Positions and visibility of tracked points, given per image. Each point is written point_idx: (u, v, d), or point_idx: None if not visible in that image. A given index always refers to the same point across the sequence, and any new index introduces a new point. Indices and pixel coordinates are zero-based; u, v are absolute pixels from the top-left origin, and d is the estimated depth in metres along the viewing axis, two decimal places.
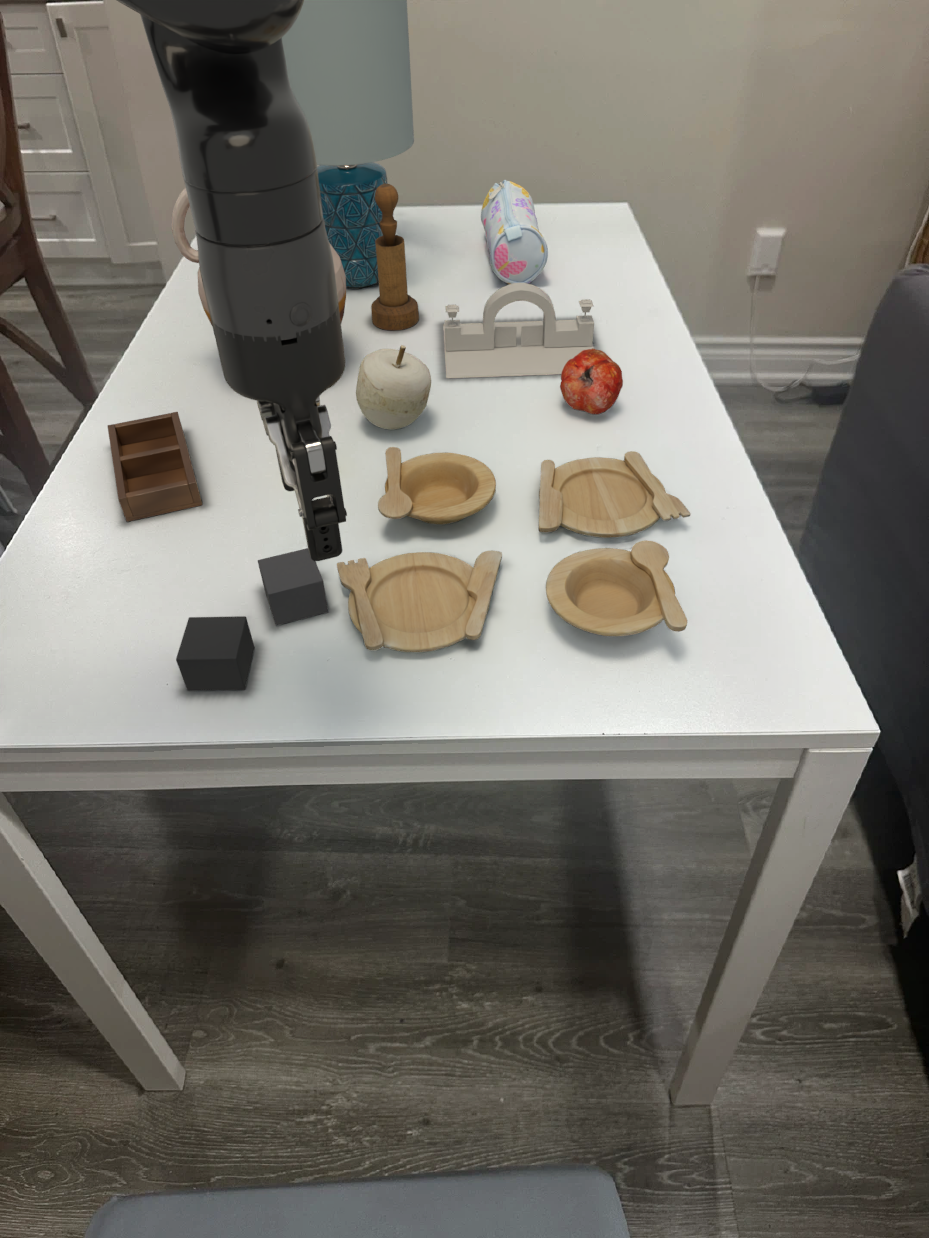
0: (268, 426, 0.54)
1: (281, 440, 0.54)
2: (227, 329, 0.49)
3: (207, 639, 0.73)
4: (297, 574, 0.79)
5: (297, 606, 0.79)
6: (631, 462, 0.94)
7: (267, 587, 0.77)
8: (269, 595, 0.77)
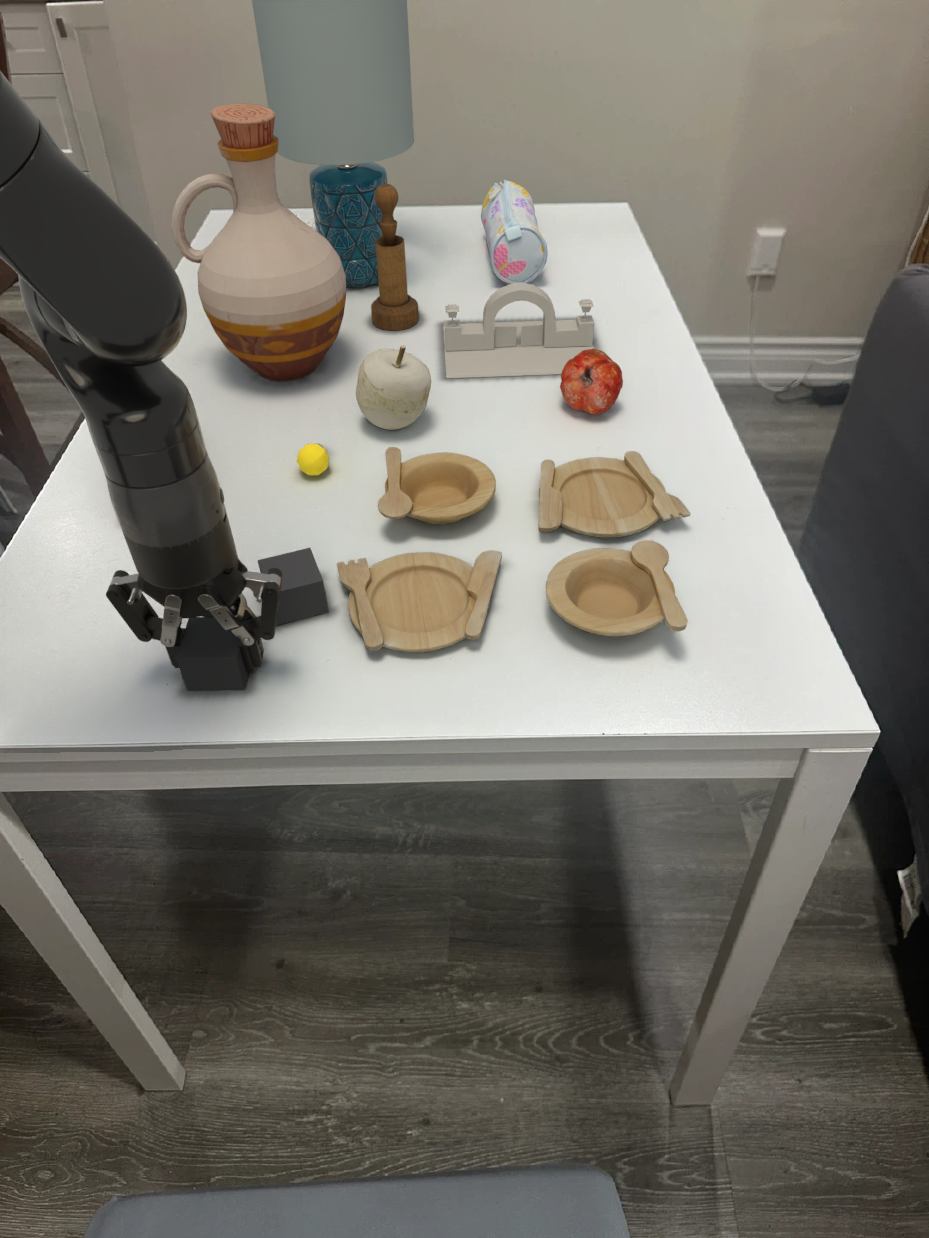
0: (213, 598, 0.67)
1: (222, 602, 0.68)
2: (191, 539, 0.62)
3: (207, 639, 0.73)
4: (297, 574, 0.79)
5: (297, 606, 0.79)
6: (631, 462, 0.94)
7: None
8: None
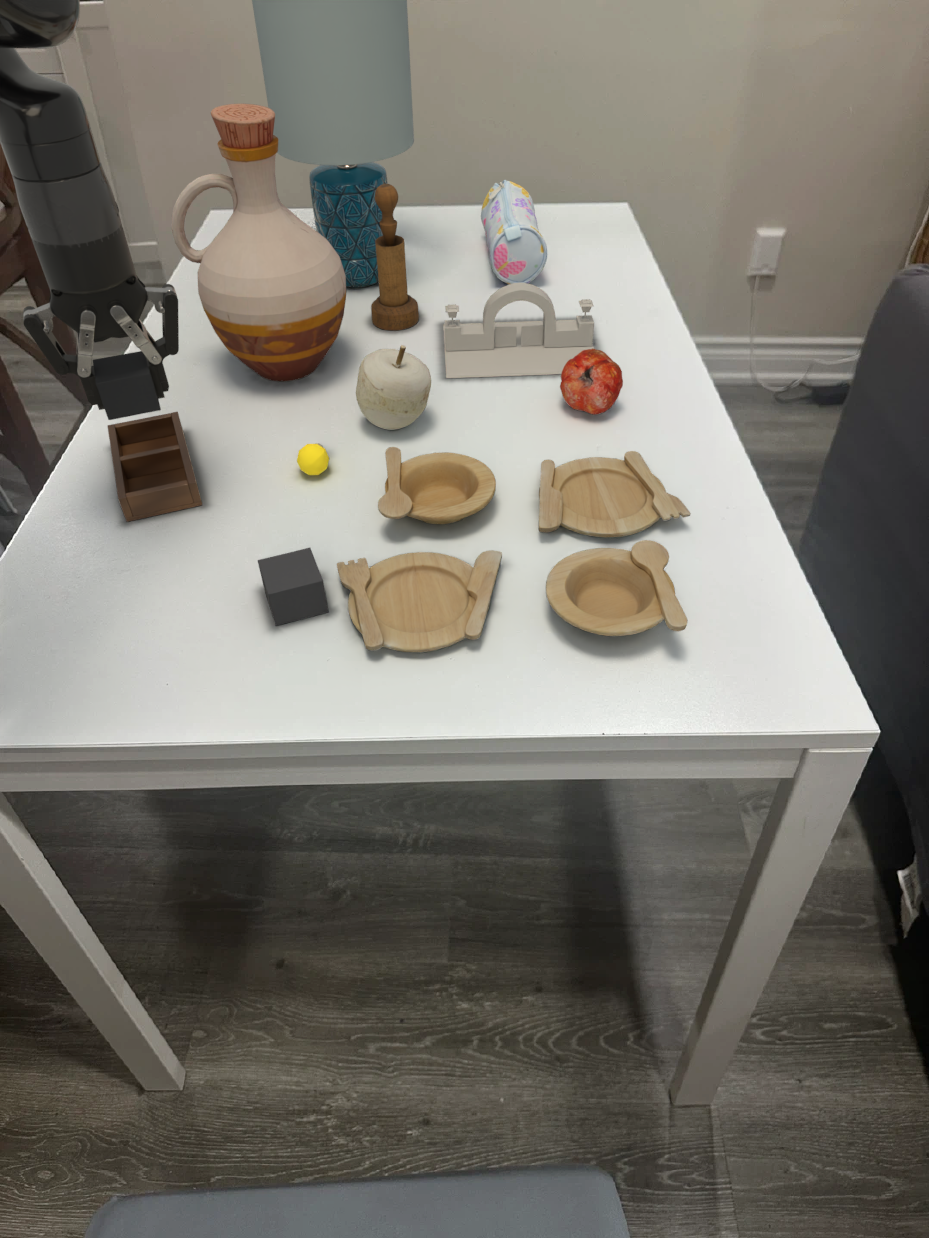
0: (123, 309, 0.79)
1: (130, 315, 0.80)
2: (103, 235, 0.73)
3: (117, 368, 0.83)
4: (297, 574, 0.79)
5: (297, 606, 0.79)
6: (631, 462, 0.94)
7: (267, 587, 0.77)
8: (269, 595, 0.77)
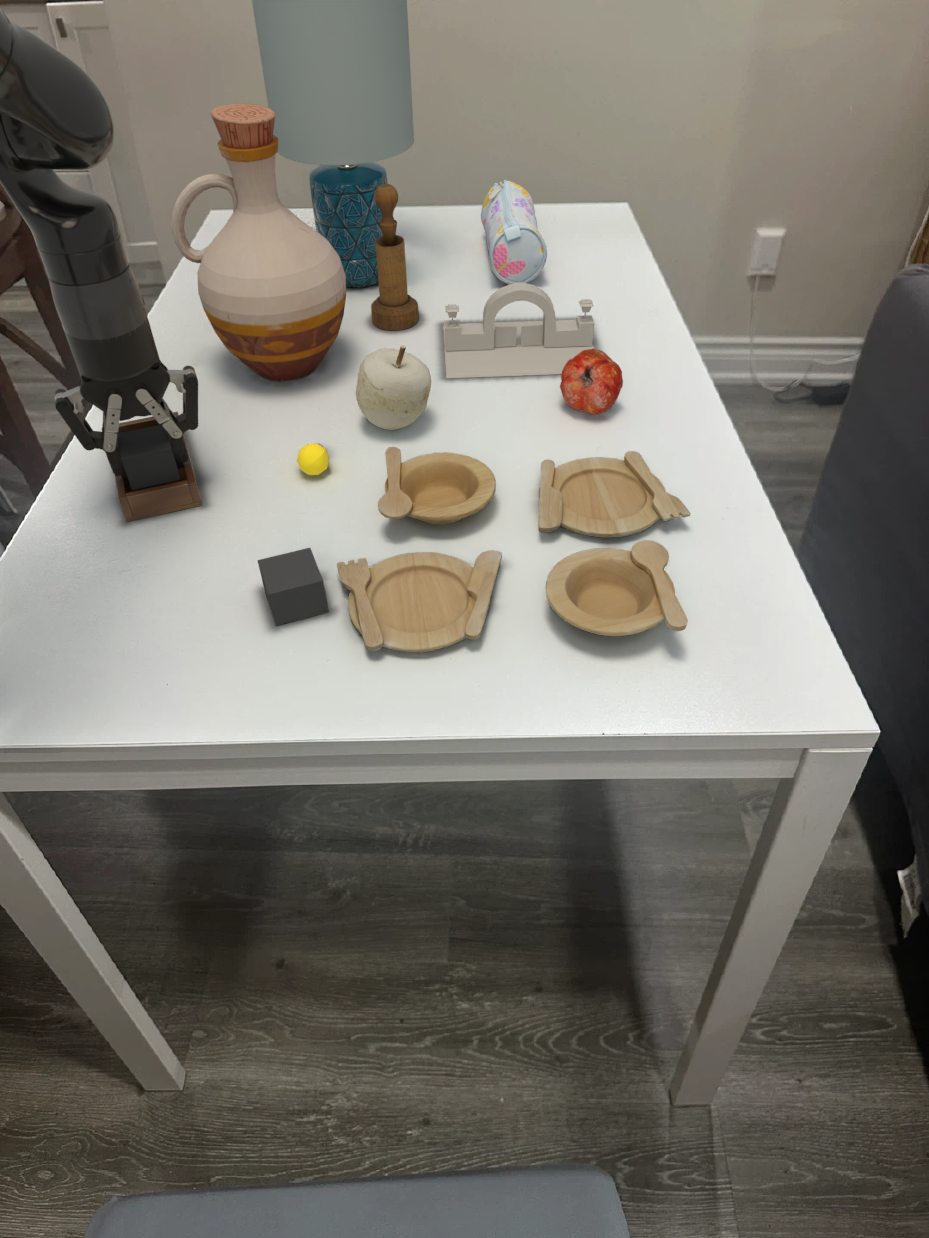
0: (147, 392, 0.85)
1: (153, 397, 0.86)
2: (130, 330, 0.79)
3: (141, 442, 0.90)
4: (297, 574, 0.79)
5: (297, 606, 0.79)
6: (631, 462, 0.94)
7: (267, 587, 0.77)
8: (269, 595, 0.77)
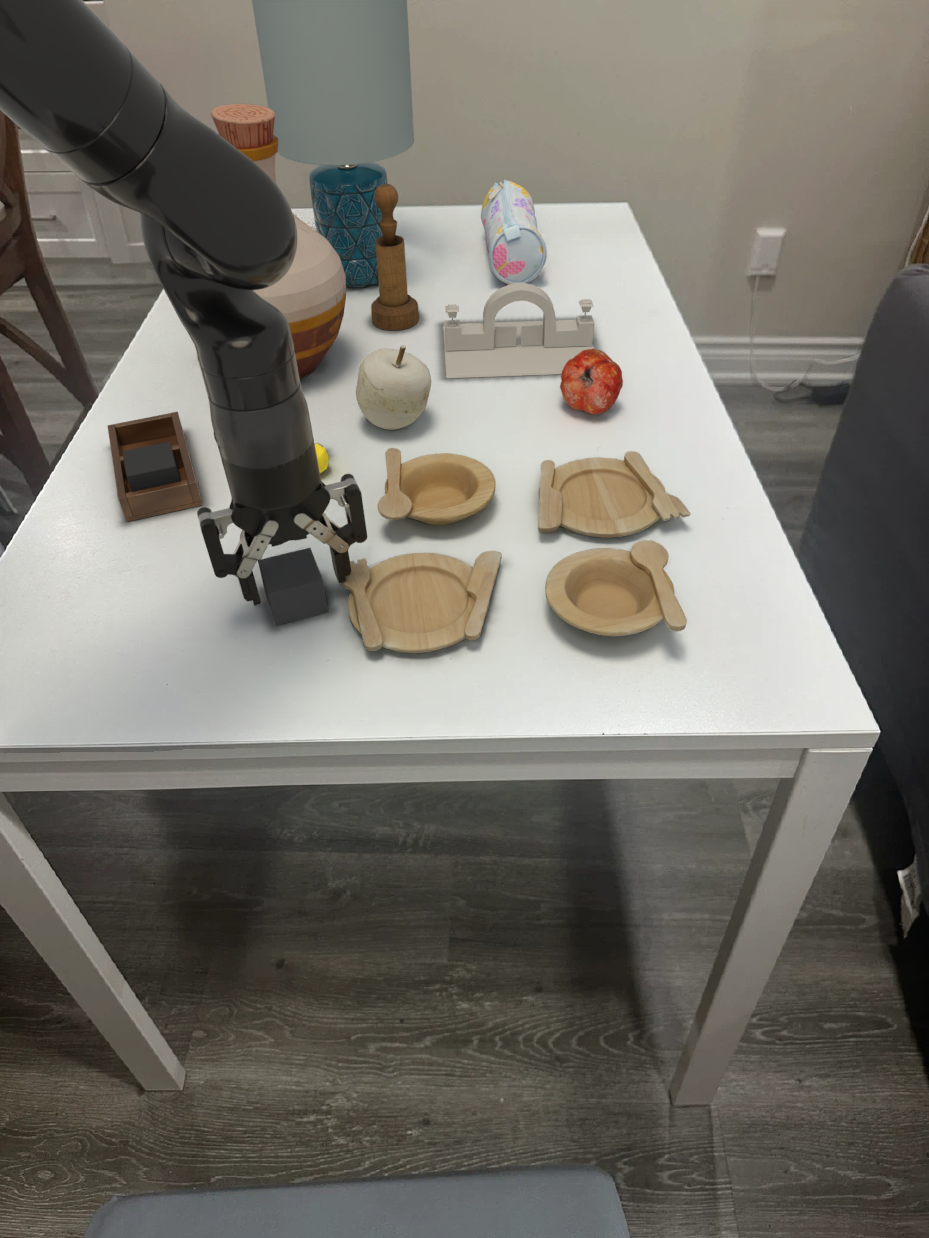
0: (306, 515, 0.73)
1: (313, 517, 0.74)
2: (299, 454, 0.68)
3: (146, 460, 0.91)
4: (297, 574, 0.79)
5: (297, 606, 0.79)
6: (631, 462, 0.94)
7: (267, 587, 0.77)
8: (269, 595, 0.77)
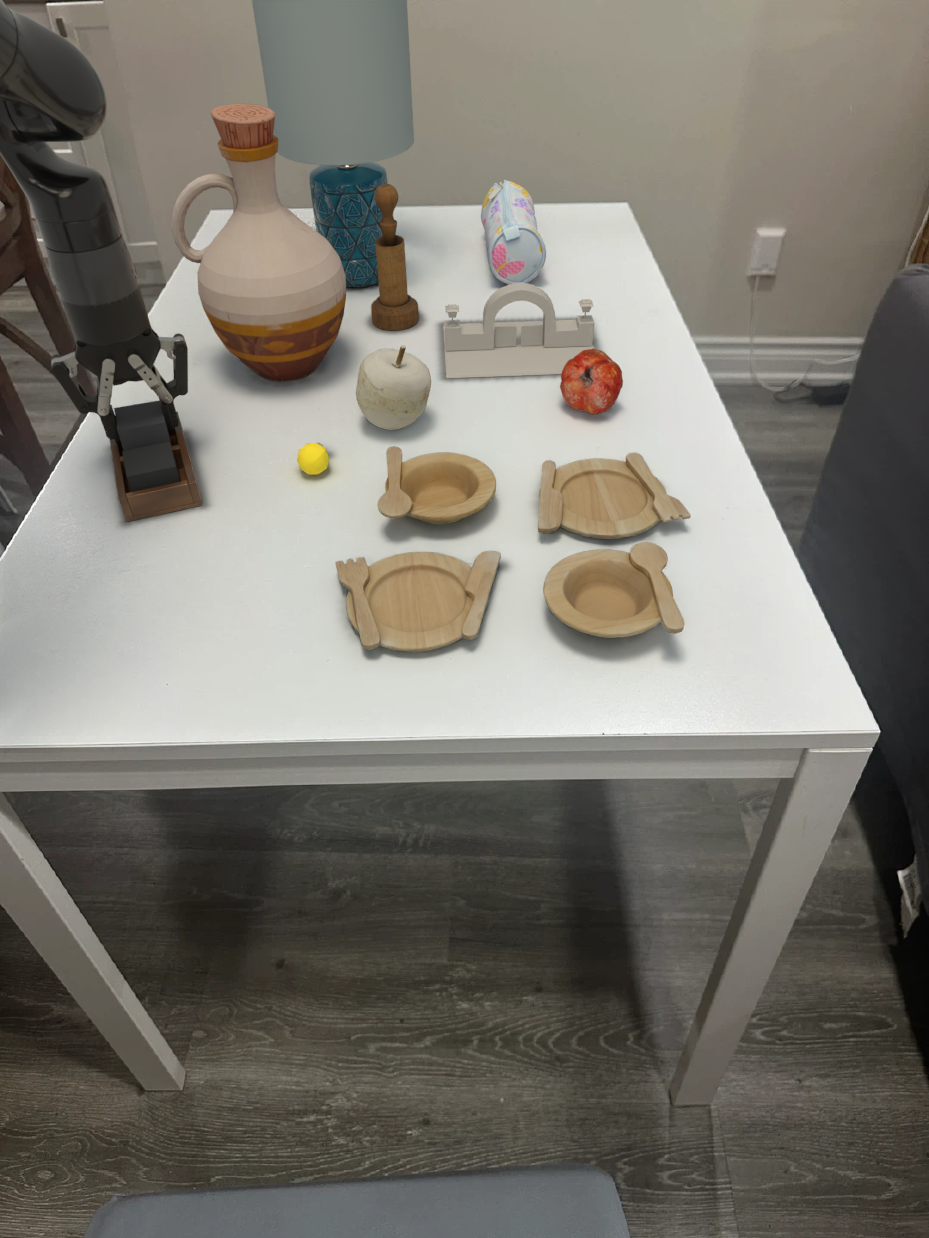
0: (139, 357, 0.89)
1: (145, 362, 0.90)
2: (123, 296, 0.84)
3: (146, 460, 0.91)
4: (145, 417, 0.95)
5: (145, 444, 0.95)
6: (632, 464, 0.93)
7: (118, 426, 0.93)
8: (118, 431, 0.93)
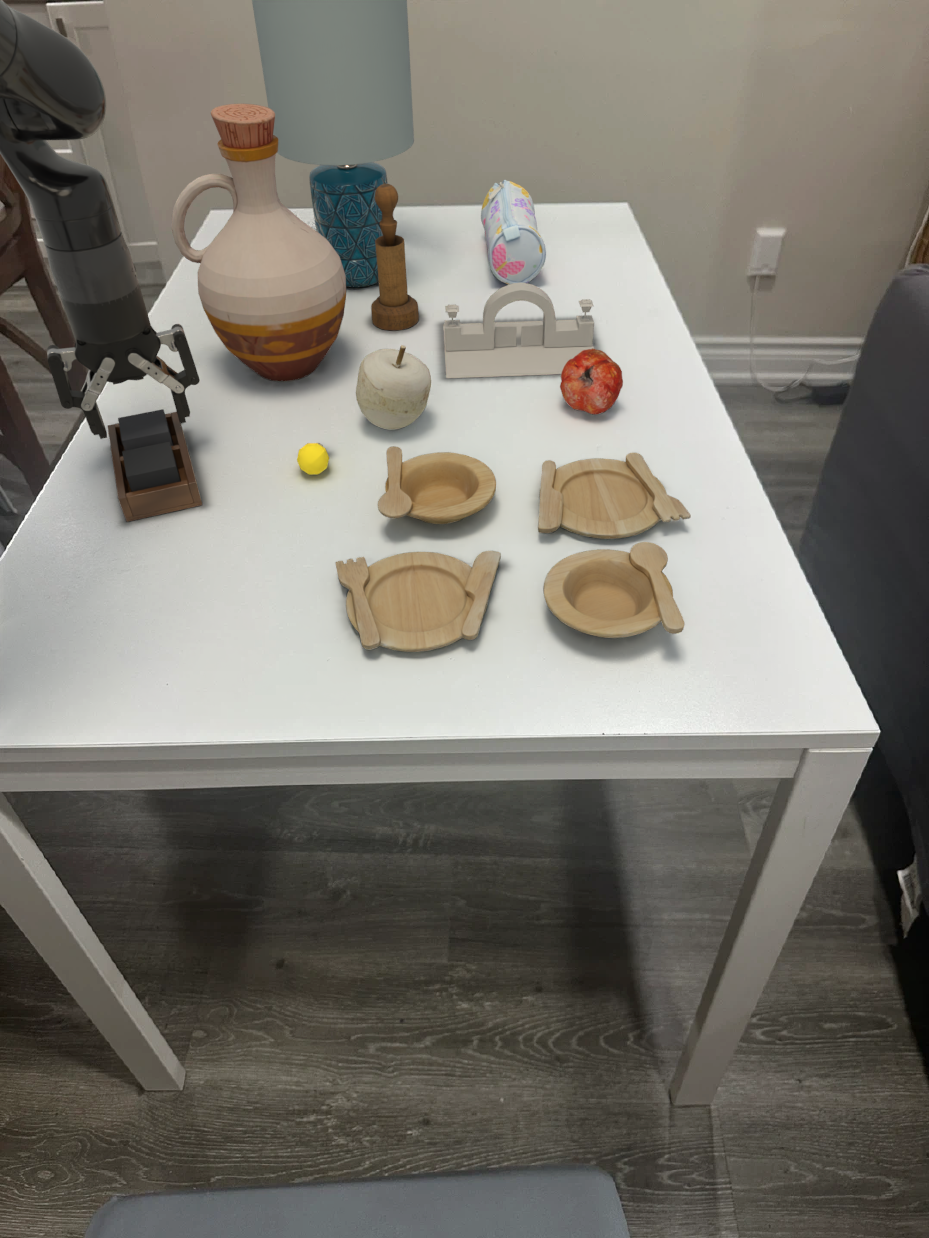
0: (138, 354, 0.89)
1: (146, 358, 0.90)
2: (123, 295, 0.83)
3: (146, 460, 0.91)
4: (149, 427, 0.96)
5: None
6: (632, 464, 0.93)
7: (122, 436, 0.94)
8: (123, 442, 0.94)
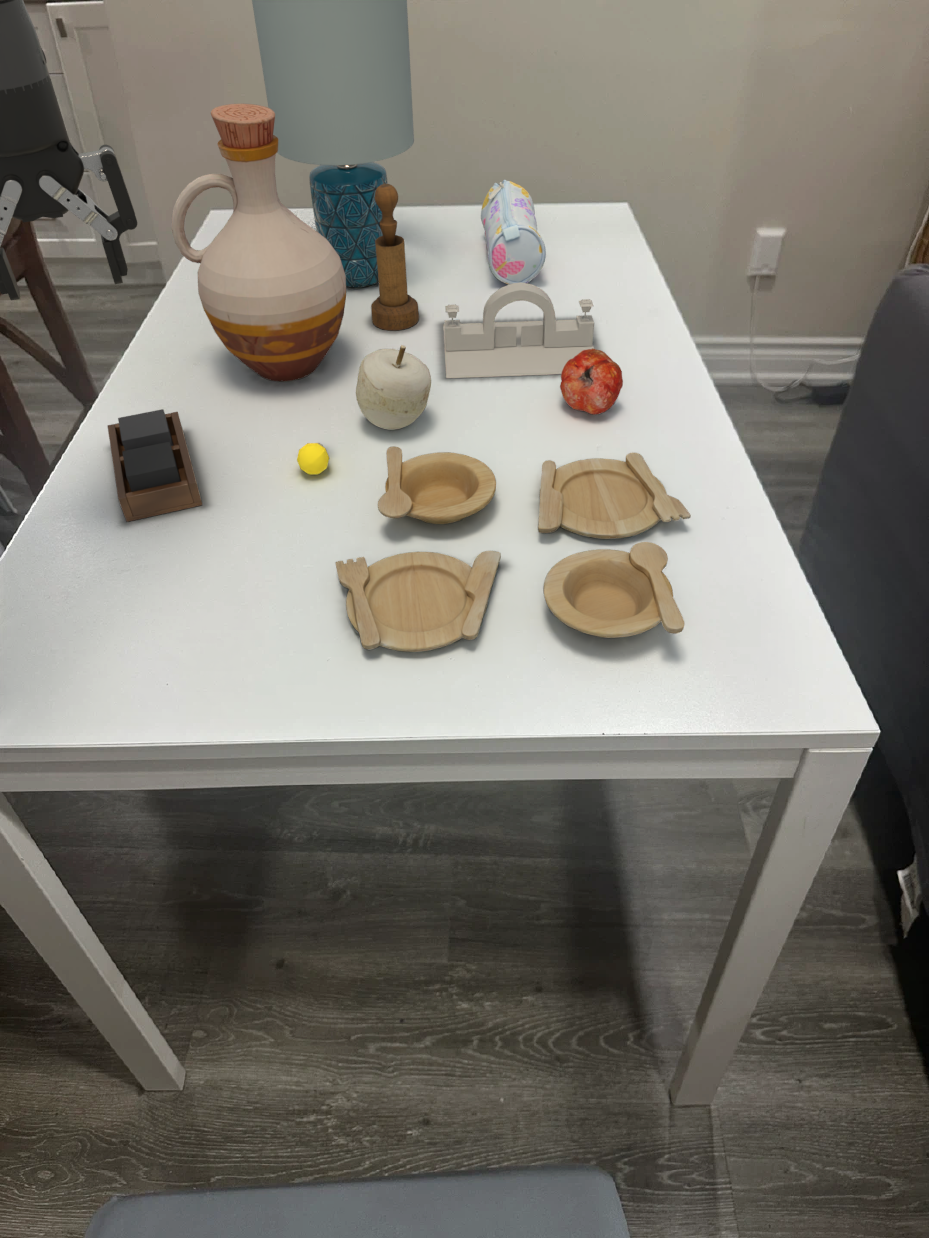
0: (53, 178, 0.68)
1: (64, 186, 0.69)
2: (25, 83, 0.63)
3: (146, 460, 0.91)
4: (149, 427, 0.96)
5: None
6: (632, 464, 0.93)
7: (122, 436, 0.94)
8: (123, 442, 0.94)
